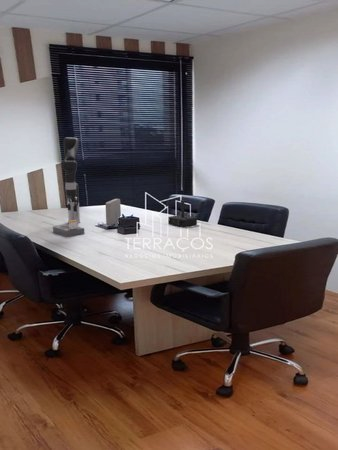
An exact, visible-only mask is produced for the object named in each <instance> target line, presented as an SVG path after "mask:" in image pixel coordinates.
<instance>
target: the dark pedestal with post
mask: <svg viewBox="0 0 338 450" xmlns="http://www.w3.org/2000/svg"><path fill="white" fill-rule="evenodd" d="M185 203H186V200H184V199H181V200H180V205H181V206H180V208H181V209H180V211H181V212H180V213H181V214H178V215H172V216H168V217H167V219H168V225H171V226H176V227H182V228H188V227H193V226H197V224H198V217H195V216H189V215H185Z"/></svg>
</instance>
